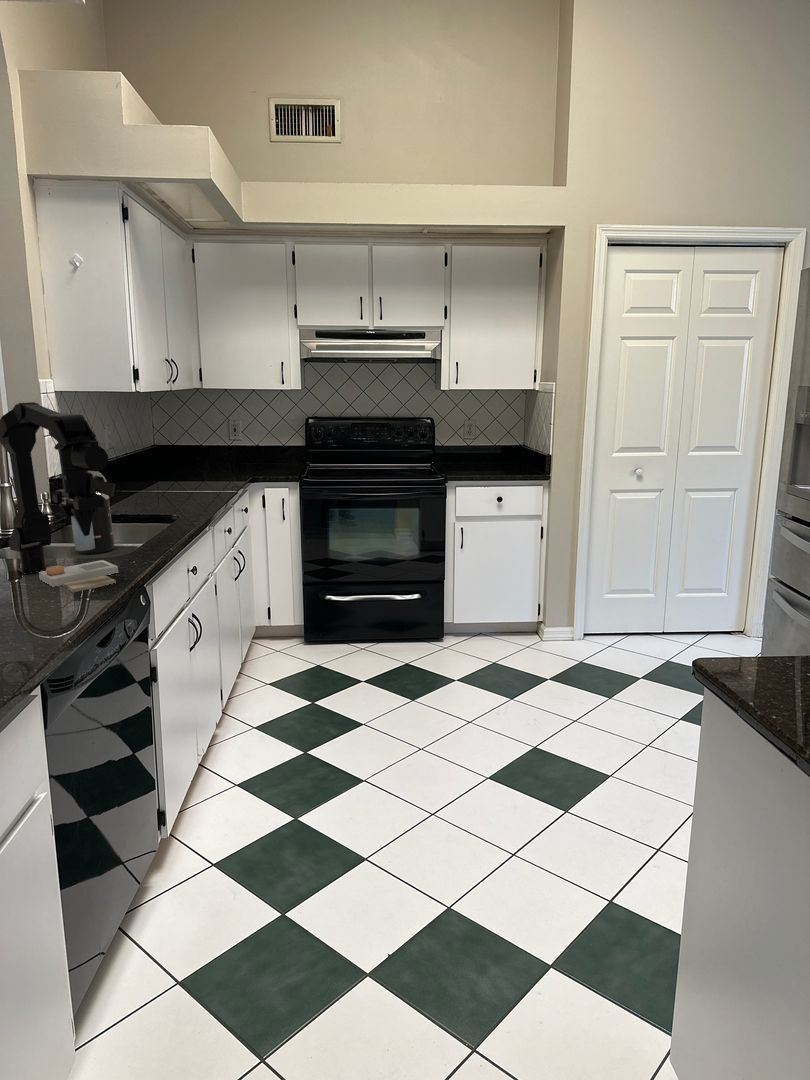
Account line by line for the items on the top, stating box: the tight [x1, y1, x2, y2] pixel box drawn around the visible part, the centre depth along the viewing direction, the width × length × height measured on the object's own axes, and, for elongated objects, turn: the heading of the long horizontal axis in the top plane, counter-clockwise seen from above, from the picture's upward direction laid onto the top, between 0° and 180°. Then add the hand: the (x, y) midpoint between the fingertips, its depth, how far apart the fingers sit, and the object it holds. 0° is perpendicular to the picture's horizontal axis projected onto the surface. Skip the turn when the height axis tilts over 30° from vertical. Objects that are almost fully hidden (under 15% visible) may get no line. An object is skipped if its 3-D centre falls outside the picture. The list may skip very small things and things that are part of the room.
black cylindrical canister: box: [78, 471, 115, 555], centre depth 216 cm, size 10×10×25 cm
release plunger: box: [45, 565, 65, 576], centre depth 186 cm, size 4×4×3 cm
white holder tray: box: [38, 559, 119, 588], centre depth 190 cm, size 10×16×2 cm, turn 132°
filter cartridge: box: [71, 516, 95, 552], centre depth 179 cm, size 4×4×9 cm
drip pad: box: [62, 575, 117, 593], centre depth 182 cm, size 7×10×1 cm
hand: (83, 534), depth 179 cm, fingers closed on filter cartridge, 4 cm apart
